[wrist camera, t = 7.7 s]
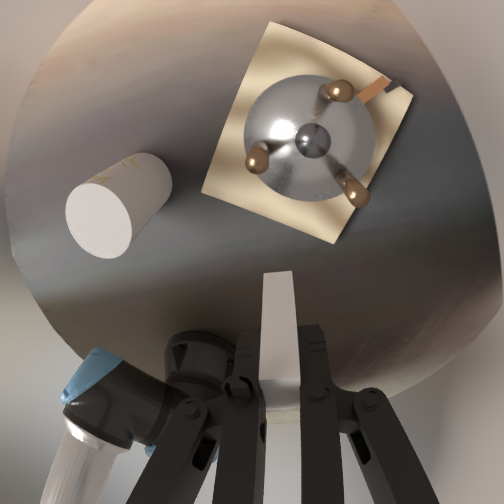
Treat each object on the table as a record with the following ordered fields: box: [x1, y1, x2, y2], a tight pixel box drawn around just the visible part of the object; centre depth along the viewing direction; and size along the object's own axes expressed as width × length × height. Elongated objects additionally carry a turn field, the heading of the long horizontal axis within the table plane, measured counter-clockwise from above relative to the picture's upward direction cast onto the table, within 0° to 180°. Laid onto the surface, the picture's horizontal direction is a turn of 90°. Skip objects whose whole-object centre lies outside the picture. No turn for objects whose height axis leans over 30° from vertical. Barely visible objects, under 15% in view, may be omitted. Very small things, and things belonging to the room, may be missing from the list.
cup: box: [66, 153, 172, 259], centre depth 28 cm, size 8×8×12 cm
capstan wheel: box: [243, 75, 389, 208], centre depth 23 cm, size 14×18×8 cm
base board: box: [201, 21, 413, 244], centre depth 28 cm, size 23×18×2 cm
